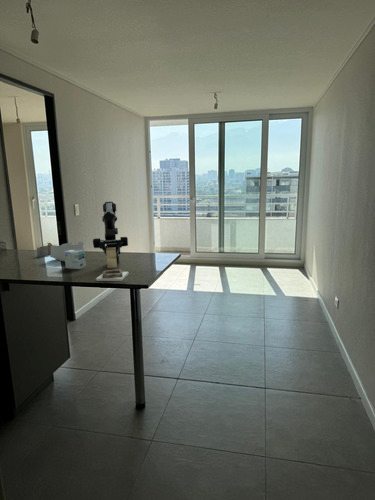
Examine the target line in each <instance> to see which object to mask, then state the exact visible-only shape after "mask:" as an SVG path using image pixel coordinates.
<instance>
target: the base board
mask: <svg viewBox="0 0 375 500" xmlns="http://www.w3.org/2000/svg"><path fill="white" fill-rule="evenodd" d="M122 274H123V277H114V278H103V273H102V274H100V275H99V276H97V277H96V278H95V281H96V282H100V281H101V282H103V281H105V282H122V281H123V280H124V279H126V278H127V276H128V275H129V274H130V272H129V271H122Z"/></svg>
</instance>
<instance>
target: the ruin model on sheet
mask: <svg viewBox="0 0 375 500" xmlns="http://www.w3.org/2000/svg"><path fill="white" fill-rule="evenodd" d="M51 246H54V244H52V243H51V242H47V245H44V246H40V247H36V250H37V251H36V252H37V258H43V257H44V258H45V257H49V256H50V254H51Z"/></svg>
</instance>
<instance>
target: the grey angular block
mask: <svg viewBox="0 0 375 500" xmlns="http://www.w3.org/2000/svg"><path fill="white" fill-rule="evenodd" d="M69 250H84V251H85V247H84V241H82V240H79V241H77V244H72V242H66V243H62V244H61V245H53V246H51V254H50V255H49V256H50V258H53V259H55V260H57V261H60V262H65V256H64V252H65V251H69Z"/></svg>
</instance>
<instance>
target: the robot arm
mask: <svg viewBox="0 0 375 500" xmlns="http://www.w3.org/2000/svg"><path fill="white" fill-rule="evenodd" d="M102 212H103V215H102V216H101V217H102V218H101V219H102V220H101V221H102V223H103V224H104V239H101V238H93V239H92V244H93V248H94V249H101V250H102V252H103V253H104V254H105V256H106V257H107V255H106V248H113V247H116V259H117V265H118V264H119V263H120V254H121V248H123V247H128V246H129V240H128V239H129V238H128V237H127V236H121V237H120V239H116V235H118V234H119V230H118V229H119V228H118V227H116V226H115V224H116V222H117V220H118V217H117V215H116V212H117V203H114V201H105V202H104V203H103V204H102Z"/></svg>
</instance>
